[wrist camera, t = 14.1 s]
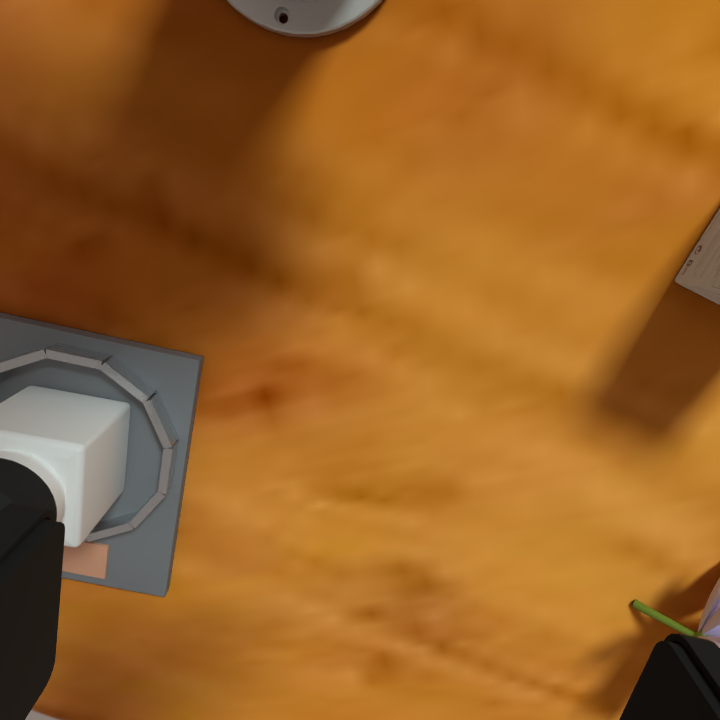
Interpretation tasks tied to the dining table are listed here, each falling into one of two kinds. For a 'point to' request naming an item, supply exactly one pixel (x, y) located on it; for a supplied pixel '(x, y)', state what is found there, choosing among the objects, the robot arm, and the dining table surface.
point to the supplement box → (704, 264)
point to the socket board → (144, 453)
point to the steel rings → (138, 390)
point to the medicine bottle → (63, 455)
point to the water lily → (712, 625)
